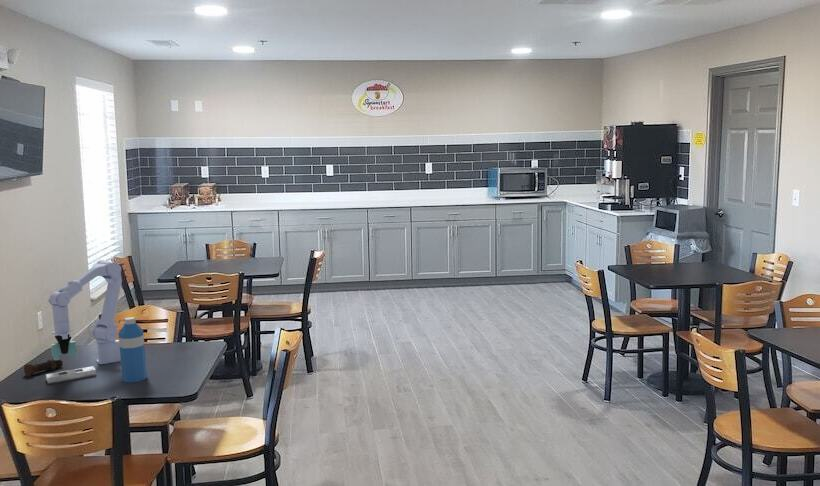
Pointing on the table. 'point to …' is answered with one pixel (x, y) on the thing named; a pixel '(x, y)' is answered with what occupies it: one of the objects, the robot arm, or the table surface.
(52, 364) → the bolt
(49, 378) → the rail
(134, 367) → the water bottle
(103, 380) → the table surface
